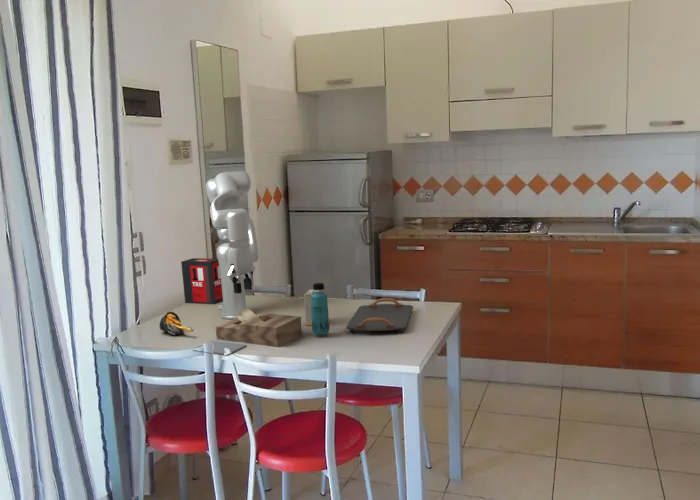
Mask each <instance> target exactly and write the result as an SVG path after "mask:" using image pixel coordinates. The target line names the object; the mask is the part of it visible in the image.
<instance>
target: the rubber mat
mask: <svg viewBox="0 0 700 500" xmlns="http://www.w3.org/2000/svg"><path fill="white" fill-rule="evenodd" d="M209 342H211V343H213V344H214V350H213V353H214V354H213V355H219V356H225V355H224V348H225V347H226V348H229V349H230V350H231V352H233V353H232V354H234V353H236V352H238V351H240V350H243V349H245V348H247V346H248V345H247V344H245V343H244V344H243V343H242V344H240V343H235V342H229V341H228V342H225V341H219V340H211V341H209ZM201 346H203V344H201V345H199V346H196V347H195V348H198V347H201ZM244 347H245V348H244ZM242 348H243V349H242Z"/></svg>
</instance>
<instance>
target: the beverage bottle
mask: <svg viewBox="0 0 700 500" xmlns="http://www.w3.org/2000/svg"><path fill="white" fill-rule="evenodd" d="M312 290H320V291H318V292H314V293H312V295H311V312H312V315H311V317H312V326H311V329H312V330H311V331H312V333H313V334H315V335H324V334H325V335H326V334H328V333H329V332H330V319H329V317H330V316H329V304H328V303H329V302H328V294H327V293H326V292H325V291H322V290H325V285H324V283H322V282H315V283H313V284H312Z"/></svg>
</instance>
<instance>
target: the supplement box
mask: <svg viewBox="0 0 700 500" xmlns="http://www.w3.org/2000/svg"><path fill="white" fill-rule="evenodd" d="M318 291H321V290H313V289H308V290H307V291H306V292H305V293H303V298H304V299H303V302H304V315H305V317H304V318H305V326H306V327H312V317H311V315H312V312H311V295H312V293H314V292H318Z"/></svg>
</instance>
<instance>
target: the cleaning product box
mask: <svg viewBox="0 0 700 500" xmlns="http://www.w3.org/2000/svg"><path fill="white" fill-rule="evenodd" d="M180 263H181V272H182V281H183V283H182V285H183V294H184V304H196V305H197V304H200V305H217V304H220V303H221V302H223V296H222V284H221V274H220V267H219V262H218V258H205V257H204V258H202V257H201V258H196V257H195V258H193V257H191V258H189V259H186V260H185V259H184V260H182V261H181V262H180Z"/></svg>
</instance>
